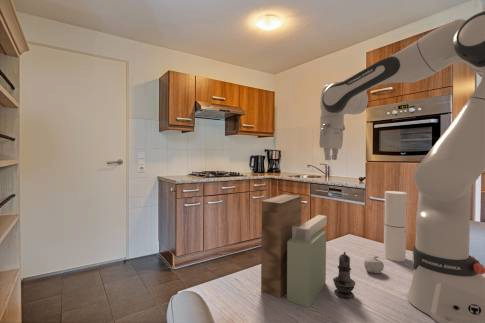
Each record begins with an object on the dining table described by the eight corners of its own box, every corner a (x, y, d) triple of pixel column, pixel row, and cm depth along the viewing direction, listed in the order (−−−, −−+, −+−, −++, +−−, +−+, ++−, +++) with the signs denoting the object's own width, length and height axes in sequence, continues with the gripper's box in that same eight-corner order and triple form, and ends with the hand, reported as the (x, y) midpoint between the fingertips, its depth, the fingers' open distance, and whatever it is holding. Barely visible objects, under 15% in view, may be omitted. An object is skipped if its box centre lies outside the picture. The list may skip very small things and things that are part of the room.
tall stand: (300, 276, 84) (301, 195, 83) (280, 297, 71) (280, 203, 71) (283, 271, 87) (284, 194, 86) (261, 291, 75) (261, 200, 74)
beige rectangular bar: (329, 224, 86) (329, 215, 86) (308, 241, 70) (309, 229, 69) (315, 222, 89) (315, 213, 89) (292, 238, 72) (292, 226, 72)
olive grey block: (325, 283, 79) (326, 231, 79) (308, 307, 67) (309, 245, 66) (306, 278, 83) (307, 228, 82) (286, 300, 70) (287, 241, 70)
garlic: (378, 268, 90) (378, 253, 90) (386, 275, 84) (387, 260, 84) (360, 268, 90) (361, 253, 90) (367, 275, 85) (368, 259, 84)
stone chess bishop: (351, 289, 76) (352, 248, 76) (358, 300, 70) (359, 256, 70) (330, 287, 77) (331, 247, 76) (335, 298, 71) (336, 255, 70)
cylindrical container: (379, 255, 102) (380, 191, 101) (393, 253, 104) (394, 190, 103) (395, 262, 95) (396, 194, 94) (410, 260, 97) (411, 193, 96)
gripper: (332, 121, 93) (332, 160, 94) (345, 127, 110) (345, 159, 111) (315, 123, 97) (314, 160, 97) (330, 127, 114) (330, 159, 114)
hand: (331, 160), depth 104 cm, fingers open, 8 cm apart
